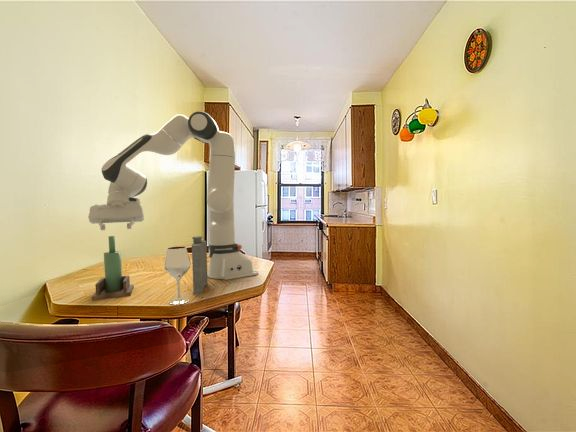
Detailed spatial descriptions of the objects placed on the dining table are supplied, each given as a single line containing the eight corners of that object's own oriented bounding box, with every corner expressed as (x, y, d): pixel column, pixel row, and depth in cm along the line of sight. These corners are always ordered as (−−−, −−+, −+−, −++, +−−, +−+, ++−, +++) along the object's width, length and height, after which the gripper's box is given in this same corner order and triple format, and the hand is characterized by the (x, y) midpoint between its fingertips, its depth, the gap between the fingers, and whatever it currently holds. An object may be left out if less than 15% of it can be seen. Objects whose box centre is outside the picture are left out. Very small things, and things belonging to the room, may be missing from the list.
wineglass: (183, 306, 98) (181, 249, 97) (160, 305, 99) (158, 249, 99) (196, 298, 106) (194, 246, 105) (174, 297, 107) (172, 246, 107)
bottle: (123, 287, 119) (120, 235, 118) (121, 290, 114) (118, 236, 113) (107, 289, 117) (104, 236, 116) (104, 292, 112) (101, 237, 111)
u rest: (133, 287, 123) (133, 274, 123) (130, 295, 112) (129, 281, 112) (98, 291, 119) (98, 277, 118) (91, 299, 107) (91, 285, 107)
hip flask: (201, 294, 111) (199, 238, 110) (190, 294, 110) (188, 239, 110) (208, 283, 127) (206, 234, 126) (198, 283, 126) (196, 234, 125)
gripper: (89, 199, 128) (84, 224, 120) (143, 198, 136) (142, 222, 127) (91, 210, 133) (87, 235, 124) (144, 208, 140) (144, 232, 131)
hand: (116, 228), depth 126 cm, fingers open, 8 cm apart
